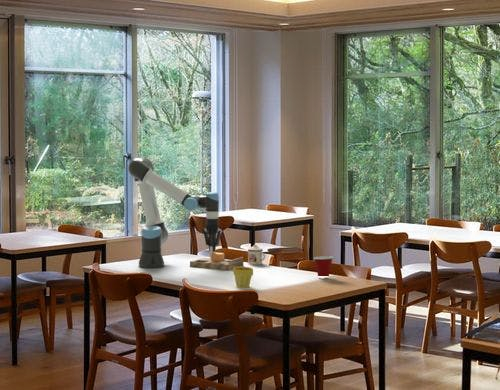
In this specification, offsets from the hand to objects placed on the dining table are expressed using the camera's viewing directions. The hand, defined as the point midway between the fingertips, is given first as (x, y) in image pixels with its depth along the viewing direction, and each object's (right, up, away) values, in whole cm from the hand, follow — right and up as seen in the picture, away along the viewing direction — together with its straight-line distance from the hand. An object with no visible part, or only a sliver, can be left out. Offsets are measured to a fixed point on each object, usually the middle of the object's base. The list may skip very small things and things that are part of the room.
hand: (212, 257), depth 553 cm
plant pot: (+19, -11, -71) cm, 75 cm away
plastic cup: (+63, -9, -43) cm, 77 cm away
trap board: (+3, -5, -6) cm, 9 cm away
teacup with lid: (+27, -5, +4) cm, 28 cm away
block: (+3, -2, -2) cm, 4 cm away
